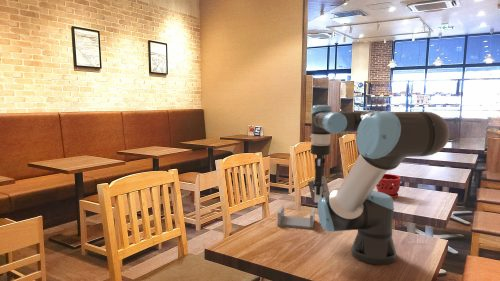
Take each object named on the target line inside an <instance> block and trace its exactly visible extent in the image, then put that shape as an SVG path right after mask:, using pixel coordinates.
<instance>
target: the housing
mask: <svg viewBox="0 0 500 281" xmlns="http://www.w3.org/2000/svg"><path fill="white" fill-rule="evenodd" d="M315 212H316V208H315V207H311V211H310V214H309V217H301V216H292V215H291V216H290V215H285V205H281V206H280V208H279V210H278V211H277V227H287V228H294V229H295V228H298V229H308V230H313V229H314V225H315V218H316V217H315V216H316V215H315V214H316V213H315Z"/></svg>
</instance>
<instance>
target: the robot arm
mask: <svg viewBox="0 0 500 281" xmlns="http://www.w3.org/2000/svg"><path fill="white" fill-rule="evenodd" d="M310 115H311V120H310V121H311V125H310V126H311V128H310V130H311V131H310V132H311V134H310V135H309V138H310V143H311V145H310V153H311V154H312V155H316V157H315V158H314V171H315V172H314V175H315V176H314V179H315V184H313V186H315V197H314V200H313V203H315V204H316V203H317V214H318V219H319V222H320V225H321V228H322V229H323V230H324V231H326V232H332V233H335V232H345V231H356V230H357V233H356V236H355V238H354V241H353V243H352V246H351V254H352V256H353V257H354V258H356V259H357V260H358V261H360V262H364V263H365V264H371V265H376V266H377V265H380V266H382V265H383V266H385V265H386V266H387V265H390V264H393V263H394V262H396V260H397V250H396V247H395V242H394V239H393V221H394V211H395V208H394V207H395V204H394V198H392V197H391V196H389V195H387V194H385V193H381V192H377V191H378V190H374V189H375V188H376V185H377V184H379V183H378V182H379V181H380V180H381V178H382V177H383V176H384V174H387V172H388V171H392V170H395V169H397V168H398V167H399V166H400V165H401V163H402V162H403V160H404V159H405V158H413V157H416V158H417V157H418V158H419V157H428V156H433V155H434V154H437V153H438V152H440V151H442V150H443V148H445V147H446V145H447V143H448V142H449V138H450V135H451V134H450V127H449V125H448V123H447V121H446V120H445V118H443V117H441V116H440V115H438V114H436V113H434V112H429V111H392V112H391V111H385V110H384V111H379V112H378V111H373V110H367V111H332V106H331V105H327V104H326V105H325V104H322V105H321V104H317V105H313V106H312V107H311V114H310ZM353 132H354V133H357V134H356V137H355V139H356V140H355V141H356V147H357V151H358V153H359V155H358V156H357V158H356V160H355V162H354V163H353V165H352V167H351V168H350V170H349V172H348V173H347V175H346V177H345V179H344V180H343V182H342V183H341V185H340V186H339V187H337V188H336V189H334V190H332V192H330V196H329V197H327V198H325V197H323V198H322V176H323V175H324V173H325V172H324V170H325V164H326V157H325V156H328V155H330V154H331V145H330V144H331V139H332V137H331V134H341V133H353Z"/></svg>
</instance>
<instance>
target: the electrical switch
mask: <svg viewBox="0 0 500 281" xmlns="http://www.w3.org/2000/svg"><path fill="white" fill-rule="evenodd" d="M307 183H308V187H309V188H308V190H309V193H310V196H311V200H312V201H313V202H314V197H315V186H313V184H315V178H313V179H312V180H309V181H308V182H307ZM329 190H330V189H329V186H328V180H327V177H326V175H323V176H322V198H323V197H325V198H327V197H329V196H330V194H331V192H330V191H329Z"/></svg>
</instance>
